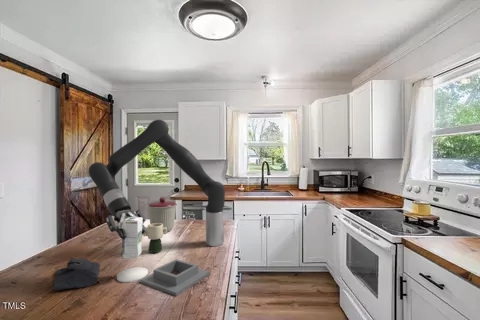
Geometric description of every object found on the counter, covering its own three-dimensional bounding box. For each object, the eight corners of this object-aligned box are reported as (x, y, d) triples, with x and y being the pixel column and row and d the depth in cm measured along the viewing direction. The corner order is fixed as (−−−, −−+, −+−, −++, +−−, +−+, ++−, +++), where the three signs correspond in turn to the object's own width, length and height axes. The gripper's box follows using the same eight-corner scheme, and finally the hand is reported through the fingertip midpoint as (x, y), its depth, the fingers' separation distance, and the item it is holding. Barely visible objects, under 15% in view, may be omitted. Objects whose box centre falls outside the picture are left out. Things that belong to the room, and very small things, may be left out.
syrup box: (127, 253, 99) (127, 216, 99) (142, 253, 99) (142, 216, 99) (121, 259, 93) (121, 220, 93) (137, 258, 94) (138, 220, 94)
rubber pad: (135, 267, 104) (135, 265, 104) (154, 273, 98) (154, 271, 98) (110, 278, 94) (110, 275, 94) (129, 285, 89) (129, 283, 89)
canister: (155, 226, 168) (155, 195, 168) (181, 227, 165) (181, 195, 165) (141, 234, 150) (141, 199, 150) (170, 235, 147) (170, 200, 147)
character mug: (166, 247, 127) (166, 222, 127) (167, 252, 120) (167, 225, 120) (143, 250, 123) (143, 224, 123) (143, 255, 116) (143, 227, 116)
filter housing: (176, 264, 106) (176, 255, 106) (210, 274, 97) (210, 264, 97) (140, 282, 91) (140, 271, 91) (176, 295, 82) (176, 283, 82)
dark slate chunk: (44, 297, 82) (44, 283, 82) (57, 271, 101) (57, 259, 101) (98, 286, 89) (98, 273, 89) (100, 263, 108) (100, 253, 108)
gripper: (103, 199, 94) (122, 234, 88) (136, 194, 106) (154, 225, 100) (95, 211, 97) (113, 246, 91) (128, 205, 109) (145, 236, 103)
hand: (134, 235), depth 96 cm, fingers closed on syrup box, 8 cm apart
